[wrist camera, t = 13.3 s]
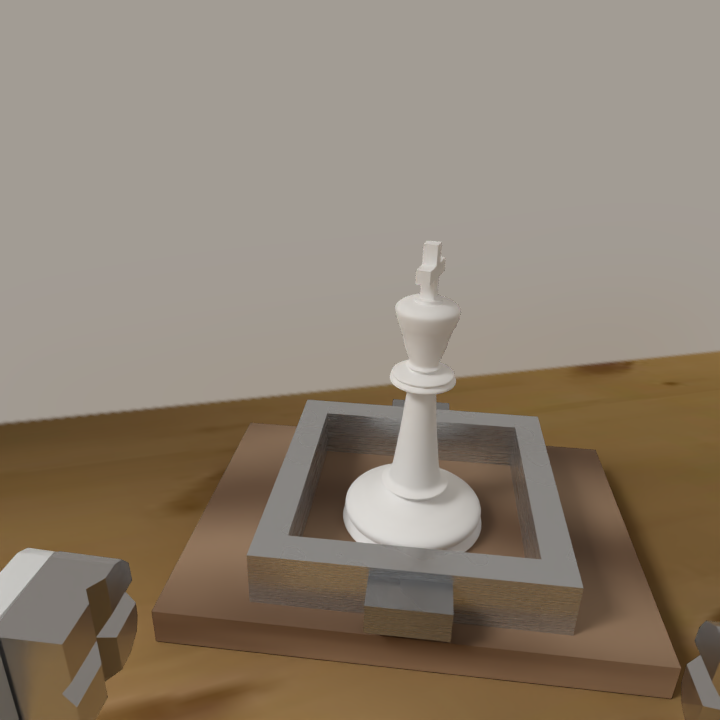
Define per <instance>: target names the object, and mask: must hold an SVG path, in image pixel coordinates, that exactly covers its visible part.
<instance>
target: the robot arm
mask: <svg viewBox="0 0 720 720" xmlns="http://www.w3.org/2000/svg"><path fill="white" fill-rule="evenodd" d="M131 581H132V577H131V572H130V568H129V563H128V562H126V561H124V560H121V559H114V558H106V557H99V556H91V555H84V554H76V553H68V552H61V551H59V552H55V551H48V550H40V549H33V548H27V549H24V550H22V551H20V552H18V553H17V554H16V555H15V556H14V557H13V558H12V559H11V561H10V562H9V563H8V564H7V565H6V566H5V568H4V569H3V570H2V571H1V572H0V720H96V718H97V717H98V715H99V713H100V711H101V709H102V707H103V705H104V703H105V701H106V700H107V698H108V696H107V690H106V685H105V681H107V680H108V679H109V678H111V677H112V676H114V675H115V674H117V673H118V672H119V671H121V670H122V669H123V667H124V665H125V663H126V661H127V659H128V657H129V655H130V653H131V650H132V646H133V643H134V639H135V635H136V632H137V616H138V615H137V608H136V603H135V602H134V601H133V599H132V598H131V597H130V596H129V595H128V594H127V593H126V592H125V591H126V590H127V588H128V586H129V584H130V583H131ZM695 643H696V645H697V648H698V650H699V652H700V656H698V657H697V658H695V659H694V660H692V661H691V662H689V663H688V664H687V665H686V668H685V672H684V675H683V679H682V682H681V703H682V708H683V713H684V718H685V720H720V622H715V621H705V622H704V623H703V624H702V625H701V626H700V627H699V630H698V633H697V636H696V638H695Z"/></svg>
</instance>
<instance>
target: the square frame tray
mask: <svg viewBox="0 0 720 720" xmlns="http://www.w3.org/2000/svg"><path fill="white" fill-rule="evenodd" d="M404 404H405V400H396V399H393V405H392V406H385V405H371V404H358V403H345V402H331V401H318V400H307V402H306V405H305V408H304V410H303V413H302V415H301V418H300V420H299V423H298V425H297V428H296V430H295V433H294V436H293V438H292V441H291V443H290V446H289V448H288V451H287V453H286V456H285V459H284V461H283V464H282V466H281V469H280V471H279V474H278V476H277V479H276V481H275V484H274V487H273V489H272V492H271V494H270V497H269V499H268V502H267V504H266V507H265V509H264V512H263V515H262V517H261V520H260V522H259V525H258V527H257V530H256V532H255V535H254V537H253V540H252V543H251V545H250V548H249V550H248V553H247V570H248V585H249V600H250V602H256V603H266V604H275V605H285V606H294V607H304V608H313V609H323V610H332V611H342V612H351V613H361V614H364V623H363V633H370V634H379V635H389V636H398V637H407V638H417V639H426V640H435V641H445V642H451V633H452V624H453V623H457V624H466V625H476V626H485V627H495V628H504V629H514V630H523V631H533V632H542V633H552V634H562V635H571V636H573V634H574V629H575V625H576V620H577V616H578V611H579V606H580V602H581V597H582V593H583V584H582V581H581V577H580V573H579V569H578V566H577V562H576V558H575V554H574V551H573V547H572V543H571V540H570V536H569V532H568V528H567V525H566V521H565V517H564V513H563V510H562V506H561V502H560V498H559V495H558V491H557V487H556V483H555V480H554V476H553V472H552V468H551V465H550V461H549V457H548V454H547V450H546V446H545V442H544V439H543V435H542V431H541V427H540V424H539V420H538V417H533V416H519V415H506V414H492V413H479V412H465V411H452V410H449V403H437V402H436V422H437V443H438V460H446V461H458V462H470V463H482V464H495V465H507V466H510V470H511V476H512V482H513V488H514V494H515V500H516V506H517V512H518V518H519V524H520V530H521V536H522V542H523V548H524V554H525V558H520V557H510V556H499V555H489V554H478V553H467V552H457V551H446V550H436V549H425V548H414V547H404V546H393V545H383V544H372V543H362V542H351V541H340V540H330V539H319V538H309V537H302V536H303V532H304V529H305V526H306V522H307V519H308V515H309V512H310V508H311V505H312V502H313V498H314V495H315V491H316V488H317V484H318V481H319V478H320V474H321V471H322V467H323V464H324V460H325V457H326V454H327V451H335V452H348V453H360V454H372V455H384V456H394V455H395V450H396V445H397V441H398V436H399V431H400V426H401V421H402V416H403V410H404Z"/></svg>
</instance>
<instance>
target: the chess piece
mask: <svg viewBox="0 0 720 720" xmlns="http://www.w3.org/2000/svg"><path fill="white" fill-rule="evenodd" d="M441 248H442V242H438V241H430V240H428V241H426V242H425V243H424V248H423V261H422V265H421V266H420V267H419V268H418V269H417V270H416V279H415V284H416V285H421V289H420V293H419V294H414V295H409V296H407V297H404V298H402V299H401V300H399V301H398V303H397V304H396V306H395V312H396V317H397V320H398V324H399V326H400V329H401V332H402V336H403V340H404V346H405V349H406V352H407V355H408V358H409V359H408V360H404V361H401V362H399V363H397V364H396V365H394V367H393V368H392V372H391V373H390V381H391V383H392V384H393V385H394V386H396V387H397V388H399V389H401V390H403V391H406V392H407V394H406V399H405V404H404V410H403V416H402V421H401V426H400V431H399V436H398V441H397V445H396V450H395V455H394V459H393V463H392V464H386V465H382V466H379V467H376V468H373V469H371V470H369V471H367V472H365V473H363V474H362V475H361V476H359V477H358V478H357V479H356V480H355V481H354V482H353V483H352V484H351V486H350V488H349V489H348V492H347V495H346V500H345V505H344V509H343V520H344V524H345V527H346V529H347V531H348V532H349V534H350V535H351V537H352V538H353V539H354V540H355V541H356V542H362V543H372V544H383V545H393V546H404V547H414V548H425V549H436V550H446V551H457V552H466V551H467V550H468V549H469V548H470V547H472V545H473V544H474V543H475V542H476V540H477V539H478V537H479V535H480V532H481V525H482V523H481V506H480V502H479V499H478V497H477V495H476V494H475V492H474V491H473V489H472V488H471V487H470V486H469V485H468V484H467V483H466V482H465V481H463V480H462V479H461V478H459V477H458V476H456V475H454V474H453V473H451V472H449V471H446V470H444V469H441V468H439V460H438V443H437V422H436V394H441V393H444V392H447V391H449V390H451V389H452V388H453V387H454V386H455V384H456V378H455V373H454V371H453V370H452V368H450V367H449V366H448V365H446V364H444V363H441V362H440V359H441V357H442V355H443V353H444V352H445V350H446V347H447V344H448V341H449V339H450V337H451V334H452V332H453V330H454V329H455V327H456V325H457V323H458V321H459V318H460V315H461V309H460V307H459V305H458V304H457V303H456V302H454V301H453V300H451V299H449V298H447V297H444V296H441V295H439V294H438V284H439V276H440V275H441V274H442V273H443V272H444V270H445V257H441Z"/></svg>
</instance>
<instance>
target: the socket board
mask: <svg viewBox="0 0 720 720" xmlns="http://www.w3.org/2000/svg"><path fill="white" fill-rule="evenodd" d="M296 428H297V426H286V425H273V424H260V423H250V425H249V427H248V428H247V430H246V432H245V434H244V436H243V438H242V440H241V442H240V444H239V446H238V447H237V449H236V451H235V453H234V455H233V457H232V459H231V461H230V463H229V465H228V467H227V468H226V470H225V472H224V474H223V476H222V478H221V480H220V482H219V484H218V486H217V488H216V489H215V491H214V493H213V495H212V497H211V499H210V501H209V503H208V505H207V507H206V509H205V510H204V512H203V514H202V516H201V518H200V520H199V522H198V524H197V526H196V528H195V529H194V531H193V533H192V535H191V537H190V539H189V541H188V543H187V545H186V547H185V549H184V550H183V552H182V554H181V556H180V558H179V560H178V562H177V564H176V566H175V568H174V570H173V571H172V573H171V575H170V577H169V579H168V581H167V583H166V585H165V587H164V589H163V590H162V592H161V594H160V596H159V598H158V600H157V602H156V604H155V606H154V608H153V610H152V618H153V625H154V631H155V638H156V641H161V642H170V643H179V644H188V645H197V646H206V647H214V648H223V649H232V650H241V651H250V652H259V653H268V654H277V655H286V656H295V657H304V658H313V659H322V660H331V661H339V662H348V663H357V664H366V665H375V666H384V667H393V668H402V669H411V670H420V671H429V672H438V673H447V674H456V675H464V676H473V677H482V678H491V679H500V680H509V681H518V682H527V683H536V684H545V685H554V686H563V687H572V688H581V689H589V690H598V691H607V692H616V693H625V694H634V695H643V696H652V697H661V698H670V699H671V698H672V695H673V692H674V689H675V686H676V683H677V680H678V677H679V674H680V671H681V667H680V664H679V661H678V659H677V656H676V654H675V651H674V649H673V646H672V644H671V641H670V639H669V636H668V633H667V631H666V628H665V626H664V623H663V621H662V618H661V616H660V613H659V611H658V608H657V605H656V603H655V600H654V598H653V595H652V593H651V590H650V588H649V585H648V582H647V580H646V577H645V575H644V572H643V570H642V567H641V565H640V562H639V560H638V557H637V554H636V552H635V549H634V547H633V544H632V542H631V539H630V537H629V534H628V532H627V529H626V526H625V524H624V521H623V519H622V516H621V514H620V511H619V509H618V506H617V504H616V501H615V498H614V496H613V493H612V491H611V488H610V486H609V483H608V481H607V478H606V475H605V473H604V470H603V468H602V465H601V463H600V460H599V458H598V455H597V453H596V450H591V449H579V448H566V447H553V446H546V450H547V454H548V457H549V461H550V465H551V468H552V472H553V476H554V480H555V483H556V487H557V491H558V495H559V498H560V502H561V506H562V510H563V513H564V517H565V521H566V525H567V528H568V532H569V536H570V540H571V543H572V547H573V551H574V554H575V558H576V562H577V566H578V569H579V573H580V577H581V581H582V584H583V593H582V597H581V602H580V606H579V611H578V616H577V620H576V625H575V629H574V634H573V636H571V635H562V634H552V633H542V632H533V631H523V630H514V629H504V628H495V627H485V626H476V625H466V624H457V623H453V624H452V633H451V642H445V641H435V640H426V639H417V638H407V637H398V636H389V635H379V634H370V633H363V623H364V614H361V613H351V612H342V611H332V610H323V609H313V608H304V607H294V606H285V605H275V604H266V603H256V602H250V600H249V585H248V570H247V553H248V550H249V548H250V545H251V543H252V540H253V537H254V535H255V532H256V530H257V527H258V525H259V522H260V520H261V517H262V515H263V512H264V509H265V507H266V504H267V502H268V499H269V497H270V494H271V492H272V489H273V487H274V484H275V481H276V479H277V476H278V474H279V471H280V469H281V466H282V464H283V461H284V459H285V456H286V453H287V451H288V448H289V446H290V443H291V441H292V438H293V436H294V433H295V430H296ZM393 459H394V456H384V455H372V454H360V453H348V452H335V451H327V454H326V457H325V460H324V464H323V467H322V471H321V474H320V478H319V481H318V484H317V488H316V491H315V495H314V498H313V502H312V505H311V508H310V512H309V515H308V519H307V522H306V526H305V529H304V532H303V536H302V537H309V538H319V539H330V540H340V541H351V542H356V541H355V540H354V539H353V538H352V537H351V535H350V534H349V532H348V531H347V529H346V527H345V524H344V520H343V509H344V505H345V500H346V495H347V492H348V489H349V488H350V486H351V484H352V483H353V482H354V481H355V480H356V479H357V478H358V477H359V476H361V475H362V474H363V473H365V472H367V471H369V470H371V469H373V468H376V467H379V466H382V465H386V464H392V463H393ZM439 468H441V469H444V470H446V471H449V472H451V473H453V474H454V475H456V476H458V477H459V478H461V479H462V480H463V481H465V482H466V483H467V484H468V485H469V486H470V487H471V488H472V489H473V491H474V492H475V494H476V495H477V497H478V499H479V502H480V506H481V523H482V525H481V532H480V535H479V537H478V539H477V540H476V542H475V543H474V544H473V545H472V547H470V548H469V549H468V550H467V551H466V552H467V553H478V554H489V555H499V556H510V557H520V558H525V554H524V548H523V542H522V536H521V530H520V524H519V518H518V512H517V506H516V500H515V494H514V488H513V482H512V476H511V470H510V466H507V465H495V464H482V463H470V462H458V461H446V460H439Z"/></svg>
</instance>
